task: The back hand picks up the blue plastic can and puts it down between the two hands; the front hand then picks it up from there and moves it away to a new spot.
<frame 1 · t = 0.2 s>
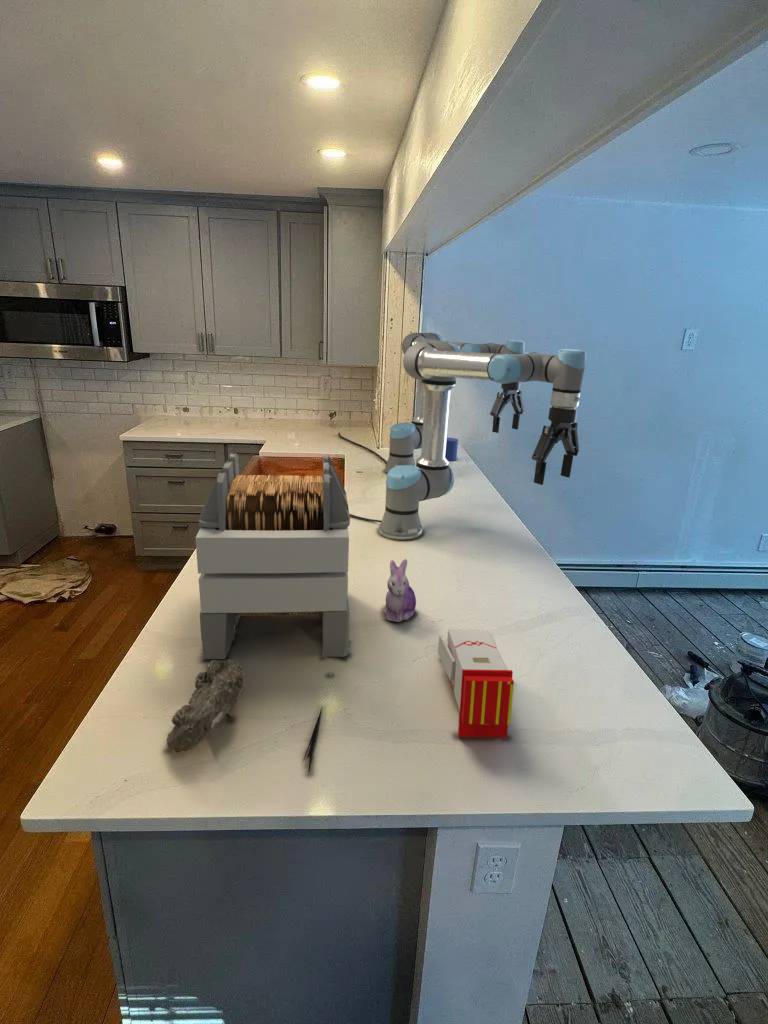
front hand: (552, 480, 165), 30 cm above the counter, tool pointing down, fingers open, 13 cm apart
back hand: (505, 430, 240), 28 cm above the counter, tool pointing down, fingers open, 13 cm apart
figurine: (399, 614, 147), on the counter
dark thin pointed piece: (319, 719, 109), on the counter
fossil: (212, 717, 108), on the counter
can: (448, 459, 304), on the counter
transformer: (280, 620, 142), on the counter
toy: (469, 691, 119), on the counter
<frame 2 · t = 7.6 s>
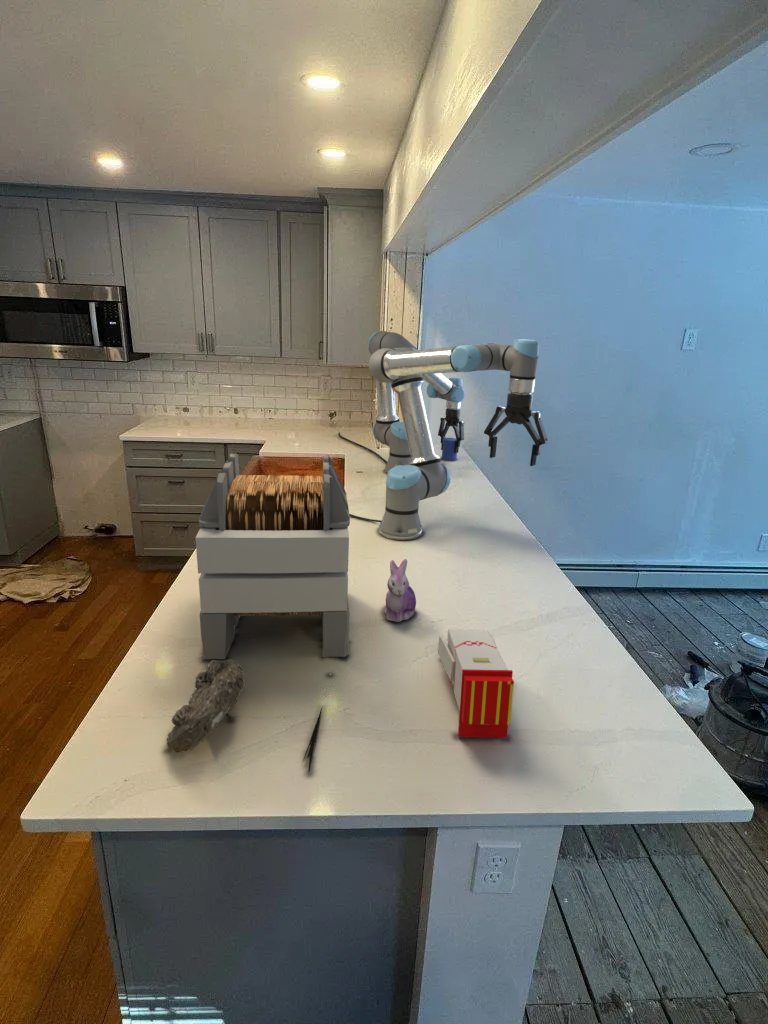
front hand: (512, 461, 178), 31 cm above the counter, tool pointing down, fingers open, 13 cm apart
back hand: (449, 451, 302), 4 cm above the counter, tool pointing down, fingers closed on can, 8 cm apart
can: (448, 459, 304), on the counter, touching back hand
everything else where it was.
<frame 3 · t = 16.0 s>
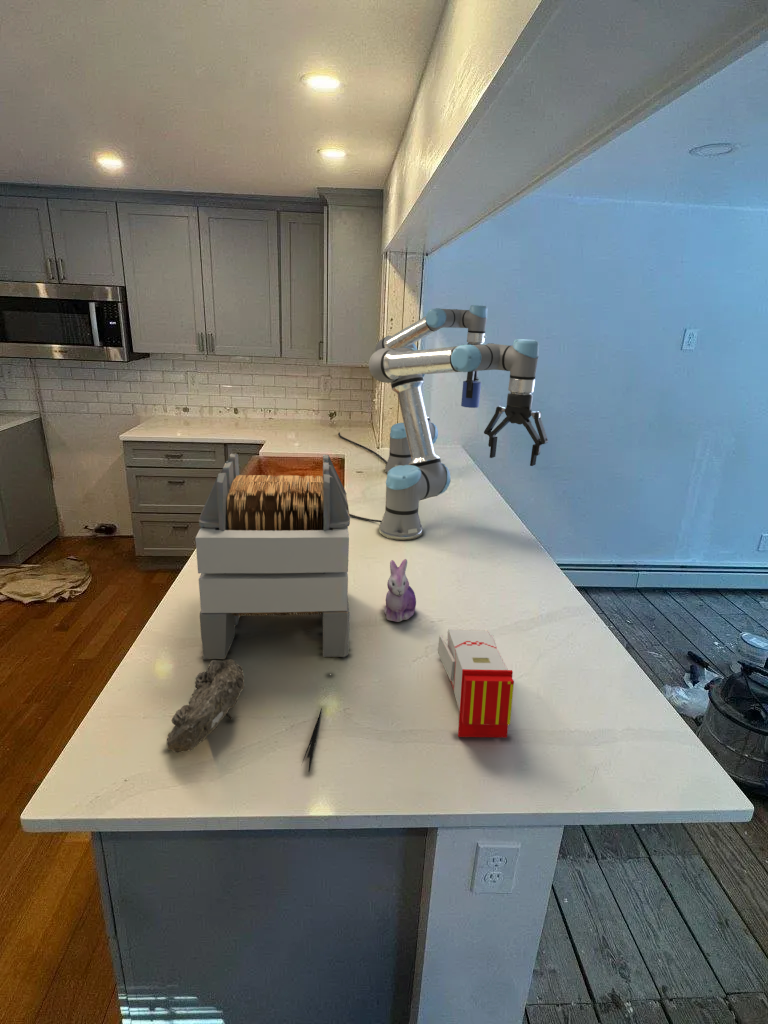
front hand: (512, 461, 178), 31 cm above the counter, tool pointing down, fingers open, 13 cm apart
back hand: (470, 396, 252), 39 cm above the counter, tool pointing down, fingers closed on can, 8 cm apart
can: (469, 406, 254), point 35 cm above the counter, touching back hand
everything else where it was.
when the back hand's fingers open (6 cm above the counter, at t = 24.7 s): can drops 2 cm, on the counter.
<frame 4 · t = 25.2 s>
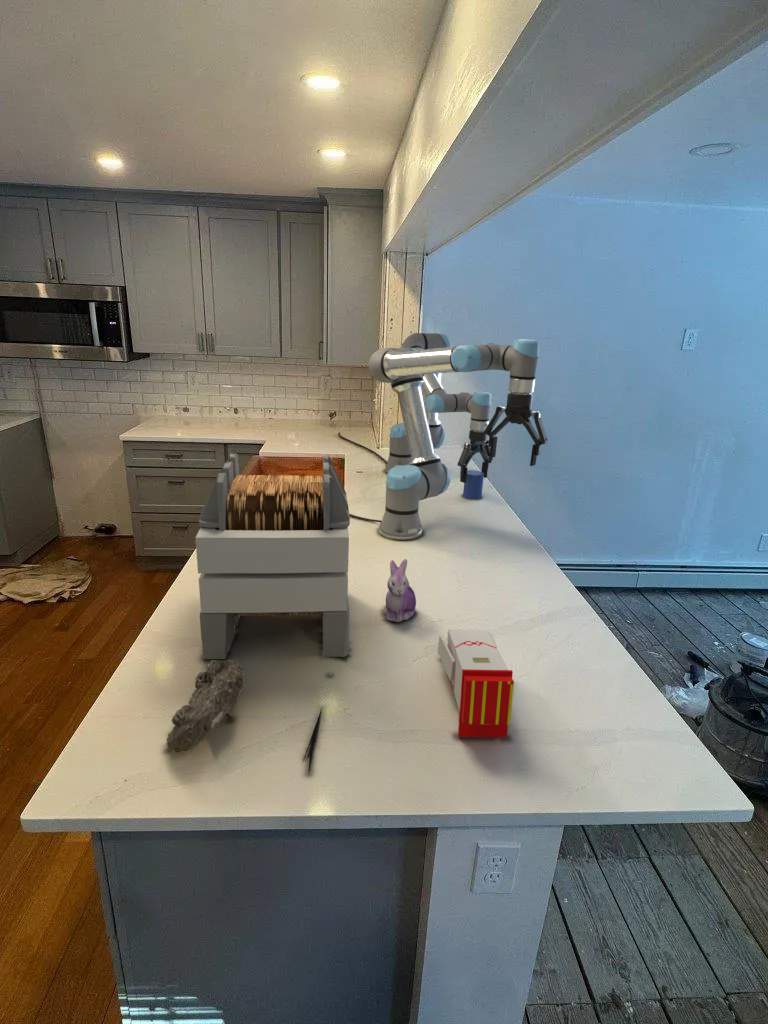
front hand: (512, 461, 178), 31 cm above the counter, tool pointing down, fingers open, 13 cm apart
back hand: (473, 479, 241), 8 cm above the counter, tool pointing down, fingers open, 13 cm apart
can: (472, 496, 244), on the counter
everything else where it was.
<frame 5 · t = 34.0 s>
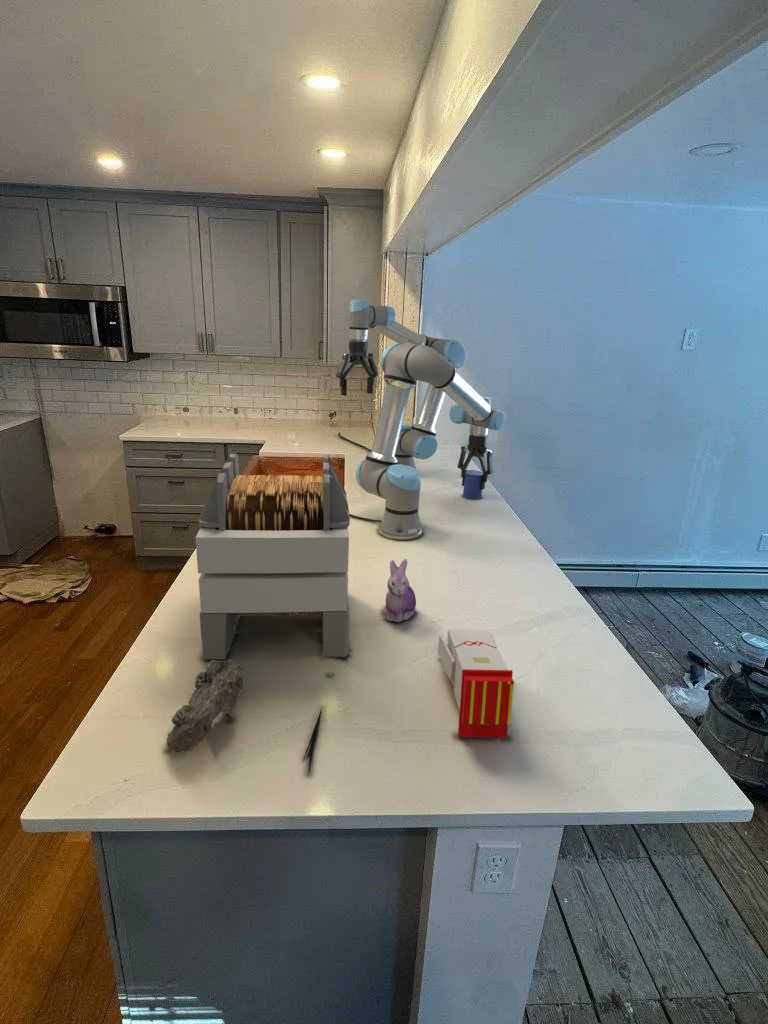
front hand: (473, 487, 242), 4 cm above the counter, tool pointing down, fingers closed on can, 8 cm apart
back hand: (357, 394, 234), 41 cm above the counter, tool pointing down, fingers open, 13 cm apart
can: (472, 496, 244), on the counter, touching front hand
everything else where it was.
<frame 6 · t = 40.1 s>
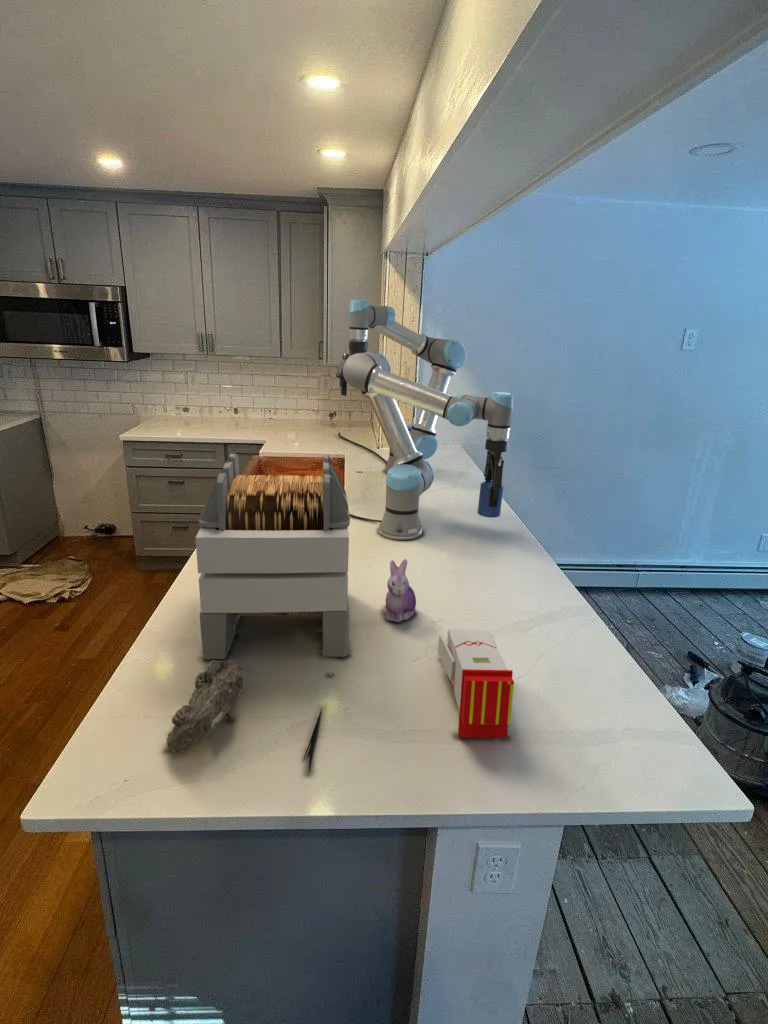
front hand: (489, 502, 200), 12 cm above the counter, tool pointing down, fingers closed on can, 8 cm apart
back hand: (357, 394, 234), 41 cm above the counter, tool pointing down, fingers open, 13 cm apart
can: (488, 513, 201), point 8 cm above the counter, touching front hand
everything else where it was.
when the front hand's fingers open (6 cm above the counter, at t = 46.5 s): can drops 2 cm, on the counter.
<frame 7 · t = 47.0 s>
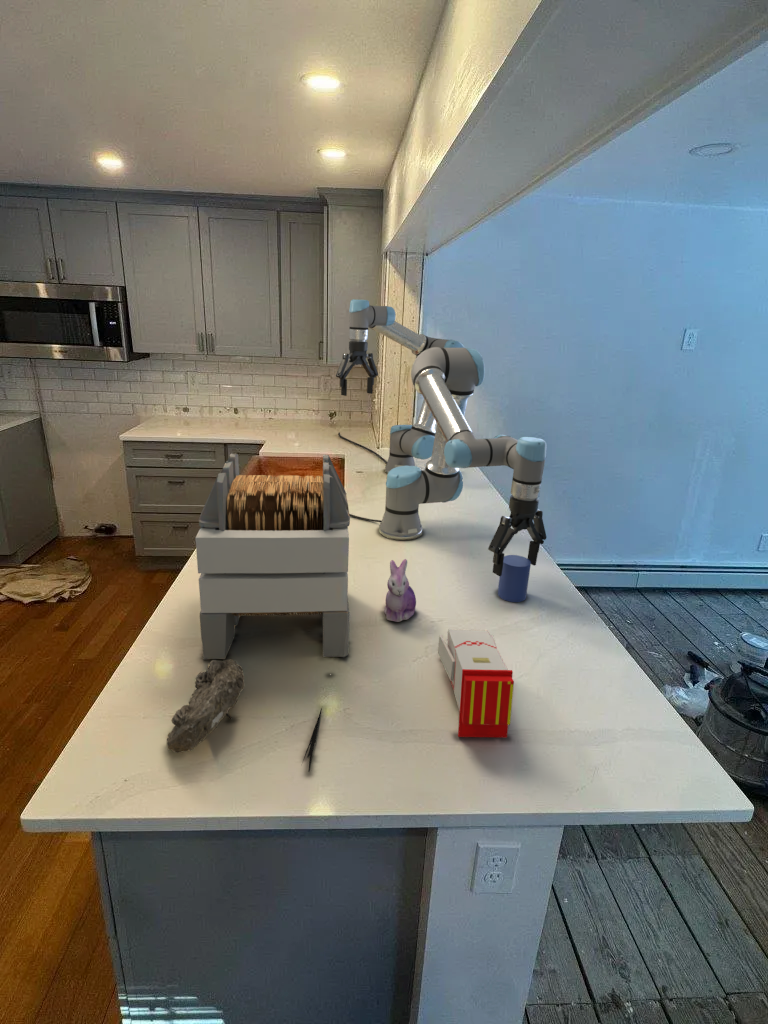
front hand: (514, 568, 157), 8 cm above the counter, tool pointing down, fingers open, 13 cm apart
back hand: (357, 394, 234), 41 cm above the counter, tool pointing down, fingers open, 13 cm apart
can: (511, 595, 160), on the counter
everything else where it was.
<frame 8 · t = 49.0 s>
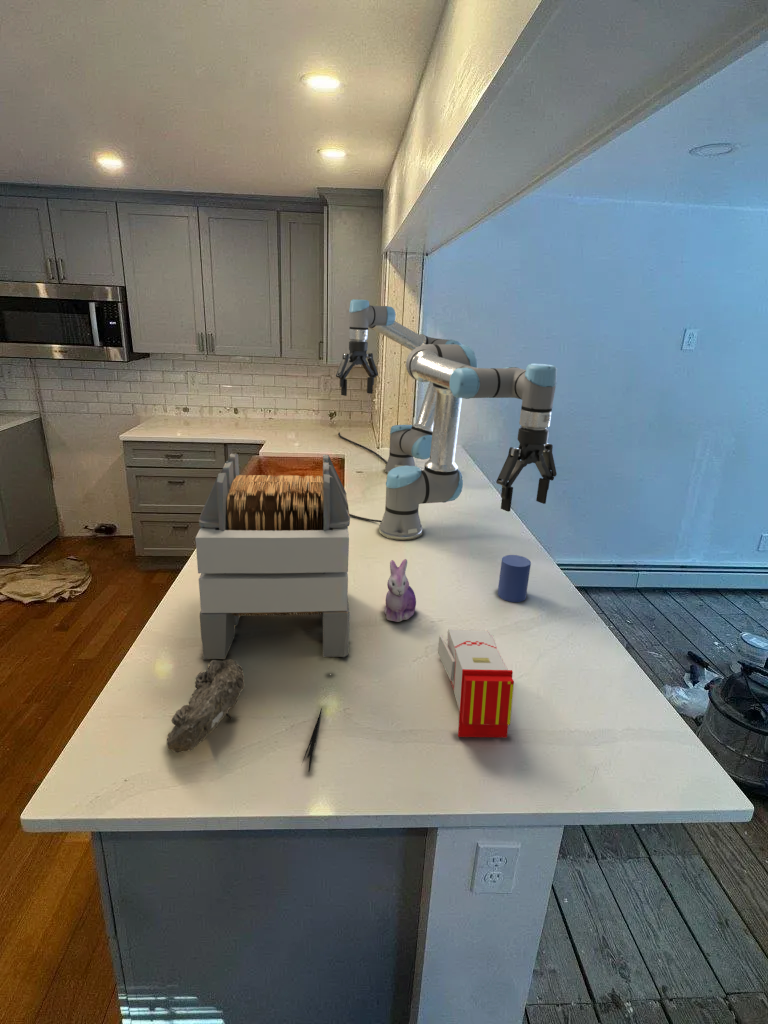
front hand: (523, 506, 151), 27 cm above the counter, tool pointing down, fingers open, 13 cm apart
back hand: (357, 394, 234), 41 cm above the counter, tool pointing down, fingers open, 13 cm apart
nothing on the counter moved.
at the end: can inside the target area (0.0 cm from its centre), on the counter; can tilted 0°; the two hands never held the can at the same time; the front hand is holding nothing; the back hand is holding nothing; can at rest at the end (0.0 cm/s) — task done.
